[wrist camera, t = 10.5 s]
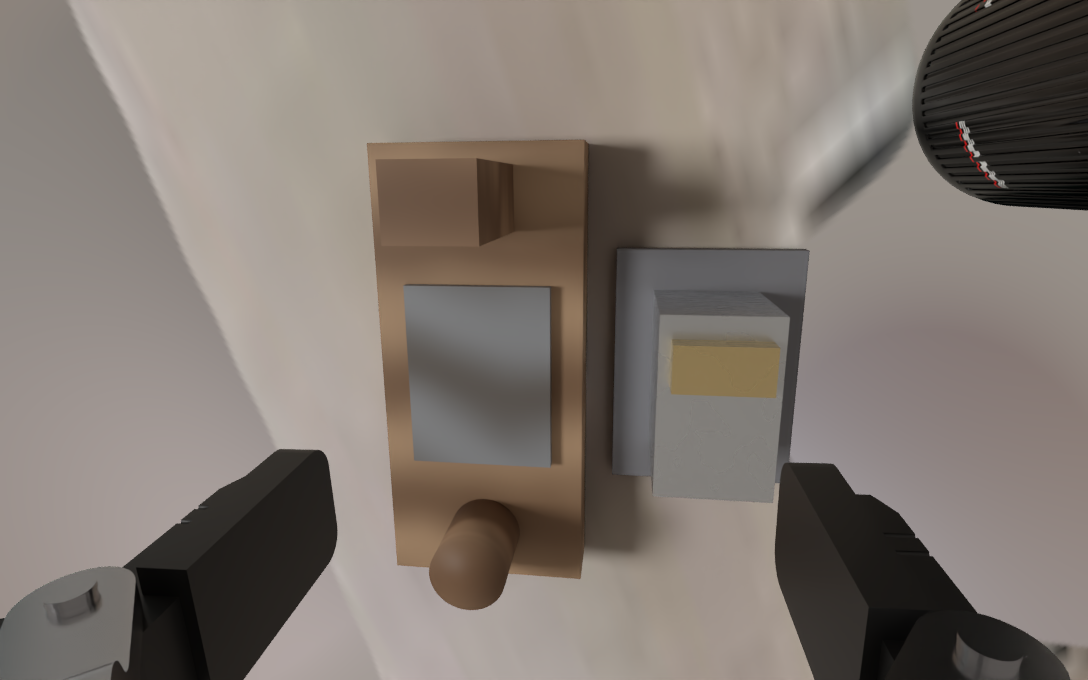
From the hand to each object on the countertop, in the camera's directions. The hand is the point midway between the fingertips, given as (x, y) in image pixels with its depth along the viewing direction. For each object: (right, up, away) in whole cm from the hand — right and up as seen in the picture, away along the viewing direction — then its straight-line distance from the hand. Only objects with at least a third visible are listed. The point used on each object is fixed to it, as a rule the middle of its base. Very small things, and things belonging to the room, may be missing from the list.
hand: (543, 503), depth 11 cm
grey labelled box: (+8, +1, +20) cm, 22 cm away
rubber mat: (+8, +2, +21) cm, 23 cm away
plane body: (-3, +2, +23) cm, 23 cm away
